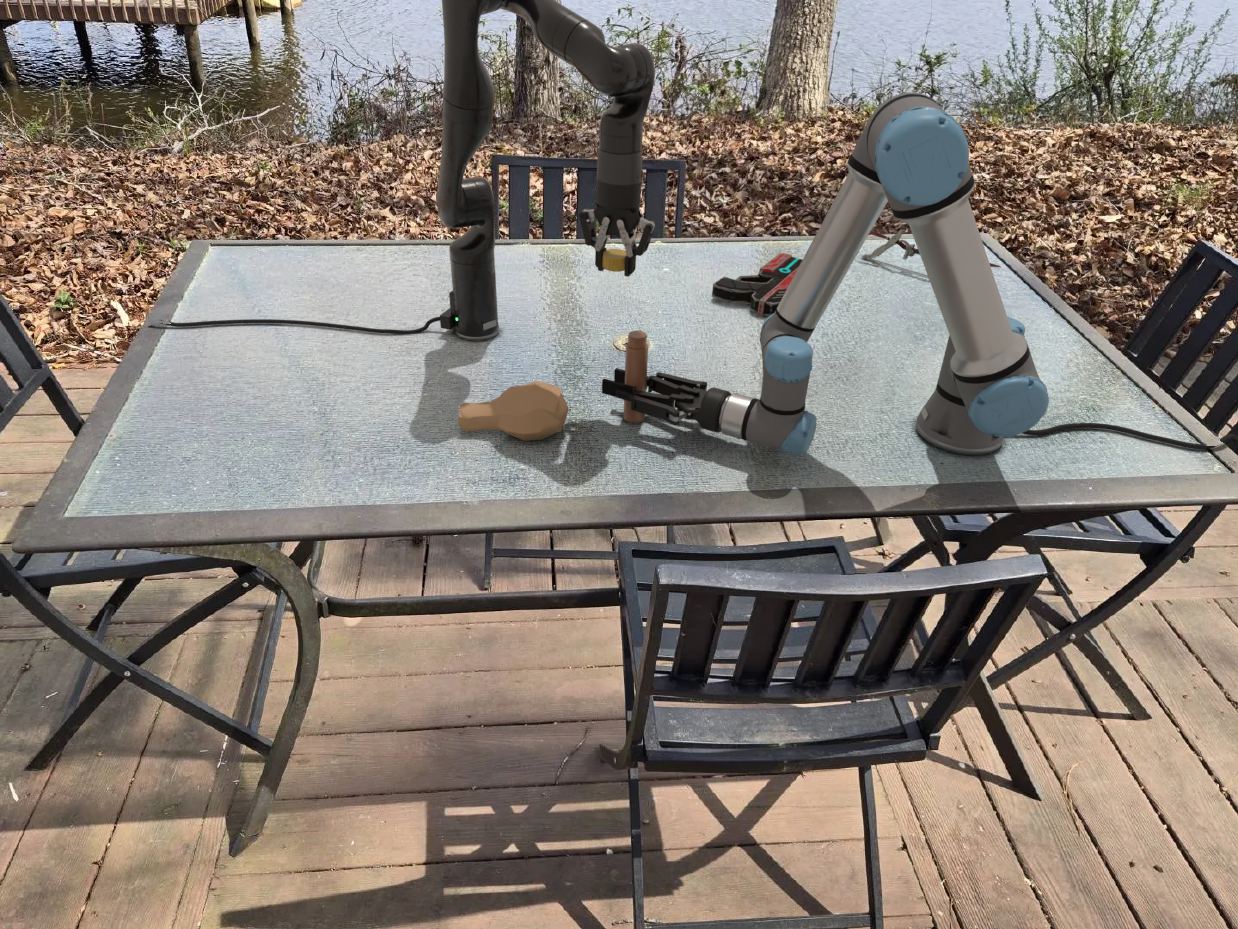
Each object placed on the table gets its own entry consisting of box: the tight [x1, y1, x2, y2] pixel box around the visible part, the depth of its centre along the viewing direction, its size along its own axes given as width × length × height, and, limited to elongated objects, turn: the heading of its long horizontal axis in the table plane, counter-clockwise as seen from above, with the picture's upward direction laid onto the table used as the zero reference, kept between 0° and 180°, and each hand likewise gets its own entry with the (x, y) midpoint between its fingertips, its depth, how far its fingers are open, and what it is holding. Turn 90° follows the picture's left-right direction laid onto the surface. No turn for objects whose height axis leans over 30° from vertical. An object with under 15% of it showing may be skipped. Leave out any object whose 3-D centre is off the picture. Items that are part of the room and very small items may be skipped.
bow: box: [861, 228, 1002, 277], centre depth 225 cm, size 39×2×10 cm, turn 47°
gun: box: [711, 252, 803, 317], centre depth 215 cm, size 4×31×19 cm
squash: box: [457, 380, 570, 442], centre depth 157 cm, size 11×20×9 cm, turn 90°
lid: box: [602, 248, 627, 273], centre depth 155 cm, size 5×5×2 cm
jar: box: [623, 330, 649, 424], centre depth 159 cm, size 4×4×17 cm
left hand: (615, 271), depth 156 cm, fingers closed on lid, 4 cm apart
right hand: (609, 380), depth 162 cm, fingers closed on jar, 4 cm apart
